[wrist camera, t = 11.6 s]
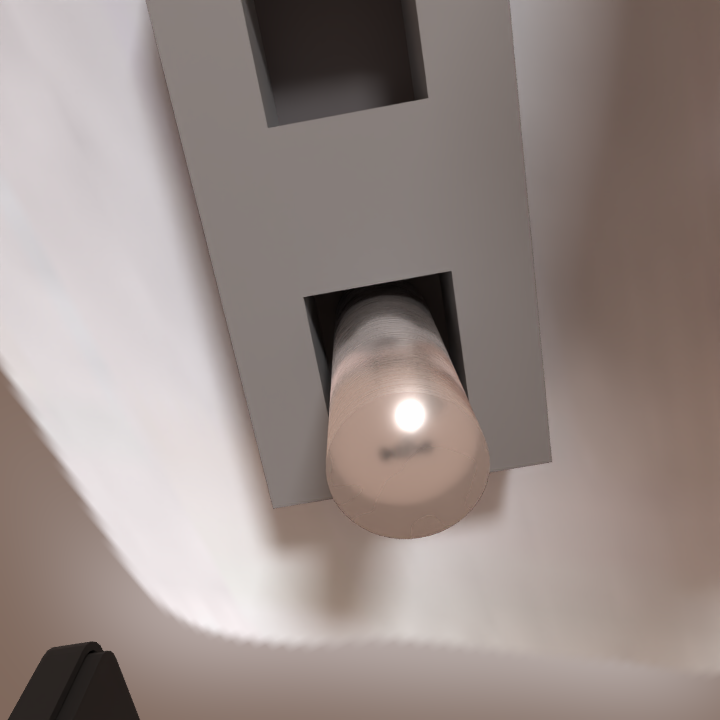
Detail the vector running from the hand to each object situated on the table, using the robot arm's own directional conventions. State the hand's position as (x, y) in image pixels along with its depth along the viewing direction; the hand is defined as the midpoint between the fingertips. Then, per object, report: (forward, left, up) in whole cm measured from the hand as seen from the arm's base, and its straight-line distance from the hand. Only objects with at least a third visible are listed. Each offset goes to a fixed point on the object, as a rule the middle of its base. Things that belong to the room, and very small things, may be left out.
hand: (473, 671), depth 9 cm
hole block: (0, -5, -19) cm, 20 cm away
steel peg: (0, 0, -18) cm, 18 cm away
